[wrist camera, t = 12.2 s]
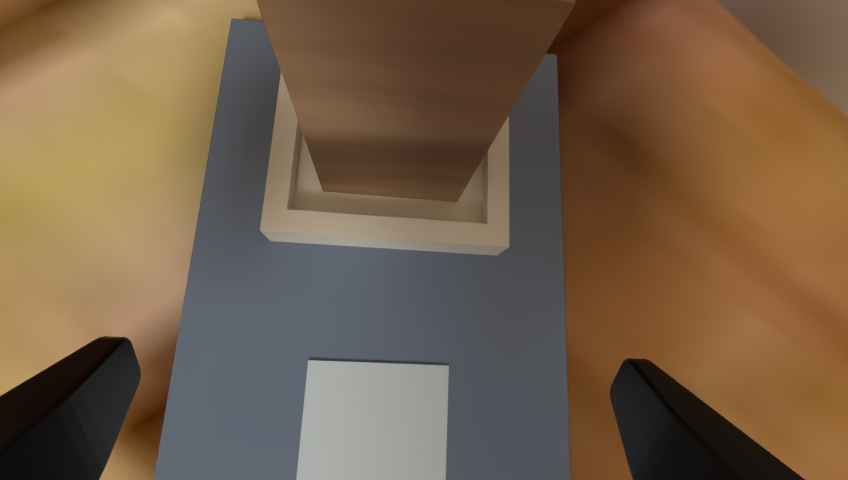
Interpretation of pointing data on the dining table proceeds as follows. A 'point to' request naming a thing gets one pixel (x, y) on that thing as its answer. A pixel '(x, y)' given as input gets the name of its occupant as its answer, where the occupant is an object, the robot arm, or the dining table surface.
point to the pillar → (406, 85)
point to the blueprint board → (368, 307)
